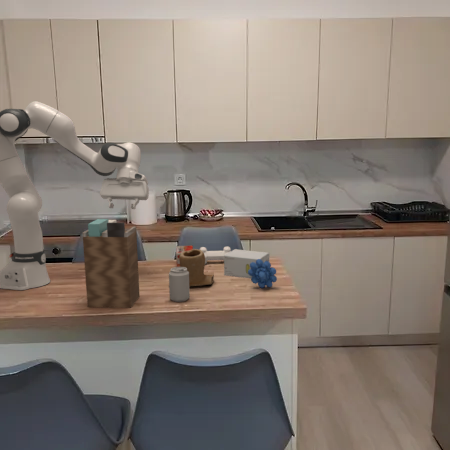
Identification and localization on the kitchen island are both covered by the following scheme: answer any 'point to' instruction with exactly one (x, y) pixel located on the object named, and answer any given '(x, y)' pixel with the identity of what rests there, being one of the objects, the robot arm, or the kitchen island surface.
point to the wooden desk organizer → (112, 267)
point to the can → (179, 284)
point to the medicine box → (179, 250)
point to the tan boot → (195, 267)
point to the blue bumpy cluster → (262, 273)
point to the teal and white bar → (98, 227)
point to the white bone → (215, 254)
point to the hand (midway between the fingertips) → (121, 208)
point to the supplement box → (242, 262)
